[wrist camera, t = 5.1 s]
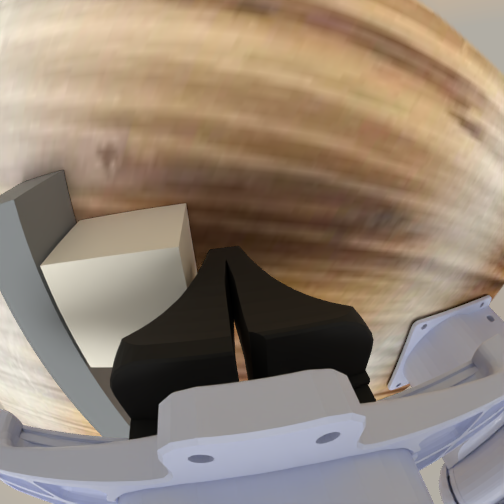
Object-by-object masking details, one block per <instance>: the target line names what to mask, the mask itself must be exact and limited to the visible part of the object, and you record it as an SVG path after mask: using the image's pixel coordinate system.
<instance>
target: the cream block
mask: <svg viewBox="0 0 504 504" xmlns="http://www.w3.org/2000/svg"><path fill="white" fill-rule="evenodd" d="M40 267H41V269H42V272H43V274H44V277H45V279H46V281H47V284H48V286H49V288H50V291H51V293H52V295H53V297H54V300H55V302H56V304H57V306H58V308H59V310H60V312H61V314H62V316H63V318H64V320H65V322H66V324H67V326H68V328H69V330H70V332H71V334H72V336H73V337H74V339H75V341H76V343H77V345H78V346H79V348H80V350H81V352H82V353H83V355H84V357H85V358H86V360H87V362H88V363H89V365H90V367H113V363H114V359H115V356H116V352H117V350H118V347H119V345H120V342H121V339H122V338H124V337H126V336H128V335H130V334H131V333H133V332H135V331H137V330H139V329H140V328H142V327H144V326H145V325H147V324H148V323H150V322H151V321H153V320H154V319H156V318H157V317H158V316H160V315H161V314H162V313H163V312H165V311H166V310H167V309H168V308H169V307H170V306H171V305H172V304H173V303H175V302H176V301H177V300H178V299H179V298H180V296H181V295H182V294H183V293H184V292H185V290H186V289H187V288H188V287H189V285H190V284H191V282H192V281H193V279H194V278H195V276H196V275H197V267H196V262H195V256H194V250H193V244H192V238H191V232H190V226H189V219H188V213H187V206H186V203H184V204H177V205H169V206H163V207H156V208H149V209H143V210H136V211H130V212H124V213H118V214H112V215H106V216H101V217H95V218H90V219H84V220H79V222H78V223H77V224H76V225H75V226H74V227H73V228H72V229H71V230H70V231H69V232H68V234H67V235H66V236H65V237H64V238H63V239H62V240H61V241H60V243H59V244H58V245H57V246H56V247H55V248H54V250H53V251H52V252H51V253H50V254H49V256H48V257H47V258H46V259H45V260H44V262H43V263H42V264H41V265H40Z"/></svg>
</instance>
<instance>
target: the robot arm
mask: <svg viewBox="0 0 504 504" xmlns="http://www.w3.org/2000/svg"><path fill="white" fill-rule="evenodd" d="M490 302H491V297H490V296H489V295H487V296H484V297H482V298H479V299H477V300H474V301H472V302H469V303H466V304H464V305H461V306H458V307H456V308H453V309H450V310H447V311H444V312H441V313H439V314H436V315H433V316H430V317H427V318H424V319H420V320H418V321H416V322H414V324H413V325H412V327H411V330H410V332H409V335H408V338H407V340H406V343H405V346H404V348H403V351H402V353H401V356H400V358H399V361H398V363H397V366H396V368H395V370H394V373H393V375H392V377H391V379H390V382H389V384H388V389H389V390H393V389H396V388H399V387H401V386H404V385H406V384H410V385H411V387H412V388H410V389H407V390H405V391H402V392H400V393H397V394H394V395H392V396H389V397H386V398H383V399H381V400H378V401H376V400H375V398H374V396H373V394H372V392H371V390H370V388H369V386H368V384H369V382H370V378H369V376H368V374H367V373H366V371H365V369H366V366H367V363H368V360H369V357H370V354H371V351H372V346H373V337H372V333H371V331H370V330H369V328H368V326H367V325H366V323H365V322H364V320H363V319H362V318H361V316H360V315H359V314H358V313H357V312H356V310H355V309H354V308H353V307H351V306H346V305H341V304H336V303H332V302H327V301H324V300H321V299H317V298H314V297H311V296H309V295H306V294H303V293H301V292H299V291H296V290H294V289H292V288H290V287H288V286H286V285H284V284H283V283H281V282H279V281H278V280H276V279H274V278H273V277H271V276H270V275H269V274H267V273H266V272H265V271H263V270H262V269H261V268H260V267H259V266H258V265H257V264H255V263H254V262H253V261H252V260H251V259H250V258H249V257H248V256H247V255H246V254H245V252H244V251H243V250H242V249H241V248H240V247H239V246H233V247H225V248H217V249H210V250H209V251H208V253H207V256H206V258H205V260H204V262H203V264H202V266H201V268H200V270H199V271H198V273H197V275H196V276H195V278H194V279H193V281H192V282H191V284H190V285H189V287H188V288H187V289H186V290H185V292H184V293H183V294H182V295H181V296H180V298H179V299H178V300H177V301H176V302H175V303H173V304H172V305H171V306H170V307H169V308H168V309H167V310H166V311H165V312H163V313H162V314H161V315H160V316H158V317H157V318H156V319H154V320H153V321H151V322H150V323H148V324H147V325H145V326H144V327H142V328H140V329H139V330H137V331H135V332H133V333H131V334H130V335H128V336H126V337H124V338H122V339H121V342H120V345H119V347H118V350H117V352H116V356H115V359H114V363H113V367H112V372H111V376H110V388H111V390H112V392H113V394H114V396H115V398H116V399H117V400H118V402H119V403H120V405H121V406H122V407H123V409H124V410H125V412H126V413H127V414H128V416H129V417H130V418H131V422H130V432H129V438H113V437H99V436H89V435H79V434H72V433H64V432H58V431H52V430H46V429H41V428H35V427H31V426H26V425H22V423H21V422H20V421H19V419H18V418H17V417H16V416H14V415H13V414H12V413H10V412H8V411H6V410H2V409H0V480H1V481H3V482H4V483H6V484H7V485H9V486H10V487H12V488H14V489H15V490H18V491H20V492H23V493H25V494H28V495H31V496H33V497H36V498H39V499H41V500H44V501H47V502H50V503H53V504H434V503H433V500H432V498H431V496H430V494H429V492H428V489H427V487H426V485H425V483H424V481H423V479H422V476H421V474H420V472H419V470H421V469H423V468H425V467H426V466H428V465H430V464H432V463H433V462H435V461H437V460H438V459H440V458H441V457H442V458H443V460H444V462H445V463H444V464H443V466H442V469H441V472H440V478H439V490H440V495H441V498H442V501H443V503H444V504H504V321H503V320H502V319H501V318H500V317H499V316H498V315H497V314H496V313H495V312H494V311H493V310H492V309H491V308H490V307H489V304H490ZM234 322H235V325H236V329H237V333H238V336H239V340H240V343H241V347H242V350H243V354H244V359H245V364H246V370H247V375H248V381H241V382H239V378H238V372H237V365H236V357H235V341H234Z"/></svg>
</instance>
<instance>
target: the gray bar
mask: <svg viewBox="0 0 504 504" xmlns="http://www.w3.org/2000/svg"><path fill="white" fill-rule="evenodd" d="M76 224H77V223H76V220H75V216H74V212H73V209H72V205H71V201H70V197H69V193H68V189H67V184H66V180H65V175H64V170H61V171H57V172H54V173H50V174H47V175H44V176H40V177H37V178H34V179H31V180H28V181H25V182H22V183H20V184H18V185H17V186H15V187H13V188H12V189H10V190H8V191H7V192H5V193H3V194H2V195H0V291H1V293H2V295H3V297H4V299H5V301H6V303H7V305H8V307H9V309H10V311H11V312H12V314H13V316H14V318H15V320H16V322H17V323H18V325H19V327H20V329H21V330H22V332H23V334H24V335H25V337H26V339H27V340H28V342H29V343H30V345H31V347H32V348H33V350H34V351H35V353H36V354H37V356H38V357H39V359H40V360H41V362H42V363H43V365H44V366H45V368H46V369H47V370H48V372H49V373H50V375H51V376H52V377H53V379H54V380H55V381H56V383H57V384H58V385H59V387H60V388H61V389H62V391H63V392H64V393H65V394H66V396H67V397H68V398H69V399H70V401H71V402H72V403H73V404H74V405H75V407H76V408H77V409H78V410H79V411H80V412H81V414H82V415H83V416H84V417H85V418H86V419H87V420H88V421H89V423H90V424H91V425H92V426H93V427H94V428H95V429H96V430H97V431H98V432H99V433H100V434H101V435H102V436H103V437H113V438H129V432H130V422H131V418H130V417H129V416H128V414H127V413H126V412H125V410H124V409H123V407H122V406H121V405H120V403H119V402H118V400H117V399H116V398H115V396H114V394H113V392H112V390H111V388H110V376H111V372H112V367H90V365H89V363H88V362H87V360H86V358H85V357H84V355H83V353H82V352H81V350H80V348H79V346H78V345H77V343H76V341H75V339H74V337H73V336H72V334H71V332H70V330H69V328H68V326H67V324H66V322H65V320H64V318H63V316H62V314H61V312H60V310H59V308H58V306H57V304H56V302H55V300H54V297H53V295H52V293H51V291H50V288H49V286H48V284H47V281H46V279H45V277H44V274H43V272H42V269H41V267H40V265H41V264H42V263H43V262H44V260H45V259H46V258H47V257H48V256H49V254H50V253H51V252H52V251H53V250H54V248H55V247H56V246H57V245H58V244H59V243H60V241H61V240H62V239H63V238H64V237H65V236H66V235H67V234H68V232H69V231H70V230H71V229H72V228H73V227H74V226H75V225H76Z"/></svg>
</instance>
